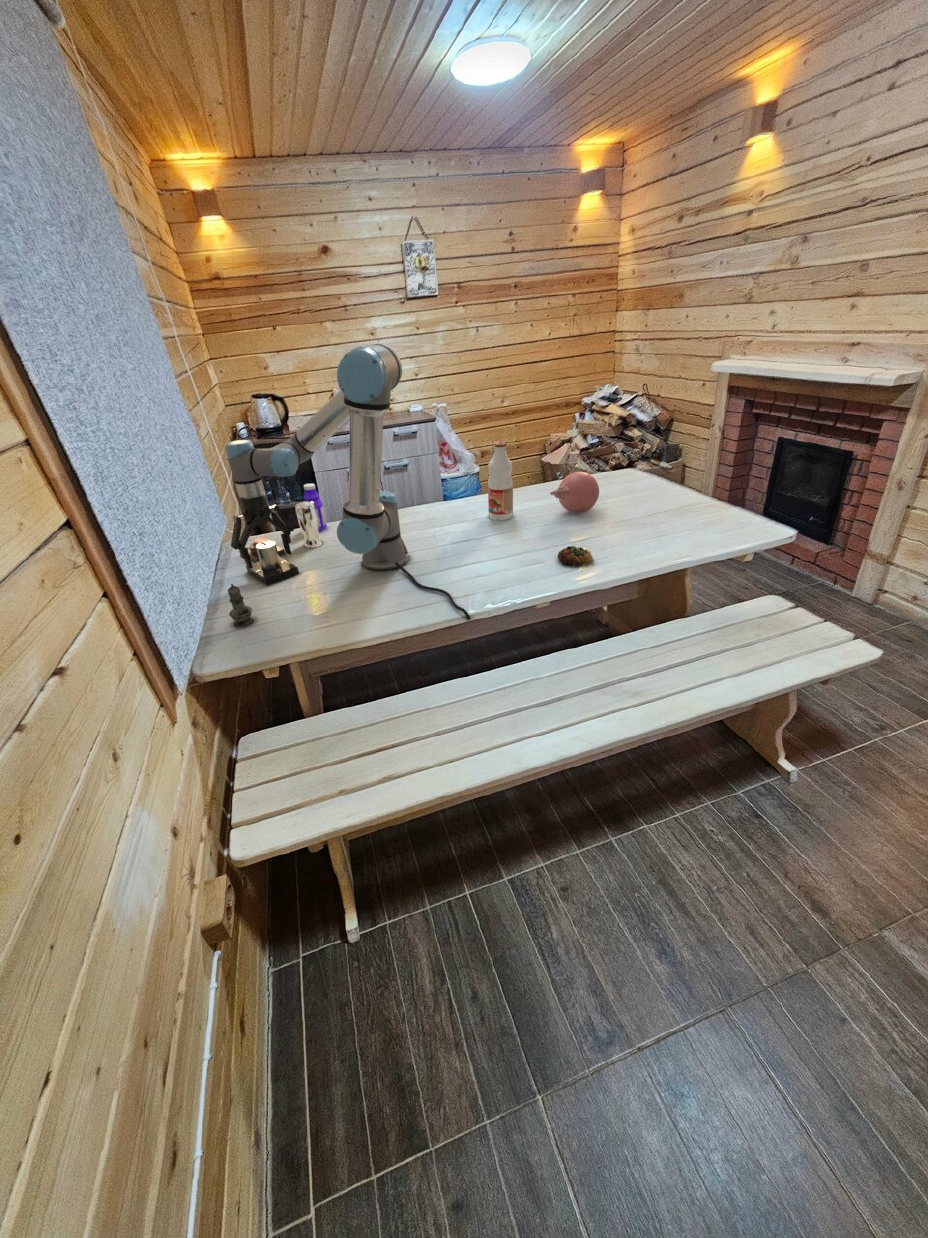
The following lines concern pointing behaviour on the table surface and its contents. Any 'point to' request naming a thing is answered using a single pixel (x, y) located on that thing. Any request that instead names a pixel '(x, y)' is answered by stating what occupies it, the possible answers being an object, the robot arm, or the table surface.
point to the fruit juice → (500, 484)
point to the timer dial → (268, 555)
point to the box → (254, 554)
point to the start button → (259, 540)
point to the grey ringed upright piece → (239, 608)
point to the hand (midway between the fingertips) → (269, 560)
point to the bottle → (314, 497)
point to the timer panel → (273, 572)
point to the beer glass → (308, 523)
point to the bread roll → (574, 556)
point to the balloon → (577, 492)
